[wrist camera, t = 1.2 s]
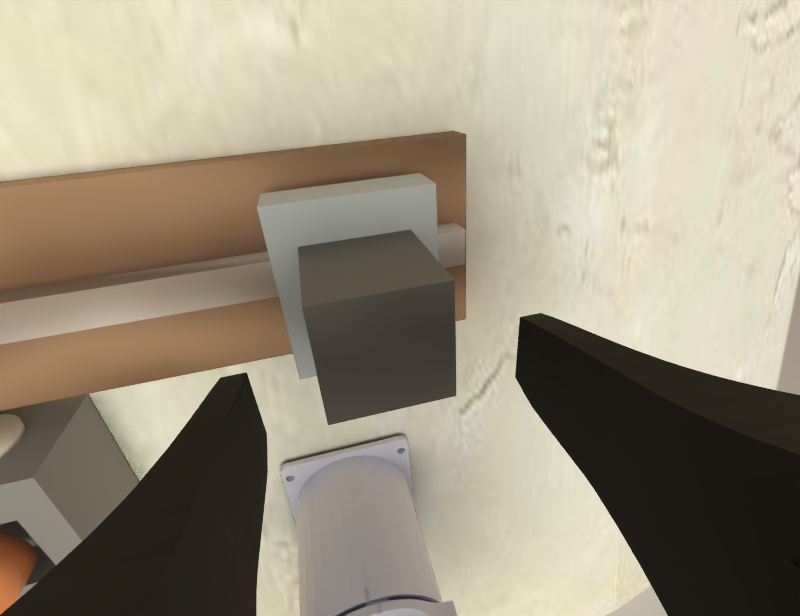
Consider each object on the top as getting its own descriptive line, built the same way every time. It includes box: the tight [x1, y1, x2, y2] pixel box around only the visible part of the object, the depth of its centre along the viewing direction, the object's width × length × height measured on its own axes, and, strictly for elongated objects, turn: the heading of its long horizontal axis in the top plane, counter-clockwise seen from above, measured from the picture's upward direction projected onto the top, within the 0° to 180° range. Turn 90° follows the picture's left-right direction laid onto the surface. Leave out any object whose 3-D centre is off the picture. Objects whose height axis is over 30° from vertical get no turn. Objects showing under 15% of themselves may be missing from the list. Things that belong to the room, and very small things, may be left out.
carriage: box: [257, 173, 456, 425], centre depth 14 cm, size 7×6×6 cm
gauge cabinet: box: [0, 394, 139, 599], centre depth 19 cm, size 8×7×5 cm
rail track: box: [0, 131, 466, 411], centre depth 17 cm, size 9×25×3 cm, turn 95°
